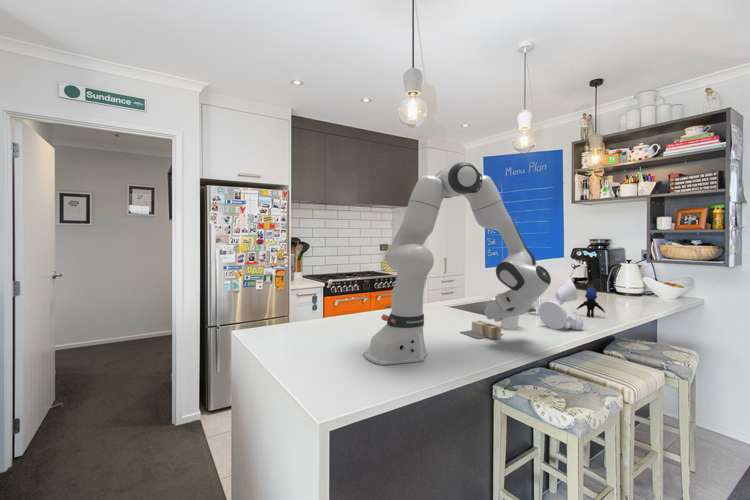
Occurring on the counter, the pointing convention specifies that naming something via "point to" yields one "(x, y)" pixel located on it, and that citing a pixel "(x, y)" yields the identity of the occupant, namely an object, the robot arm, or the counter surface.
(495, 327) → the block
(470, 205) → the robot arm
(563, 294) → the light fixture
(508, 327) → the foam cup
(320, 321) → the counter surface
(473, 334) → the mat
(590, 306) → the toy
